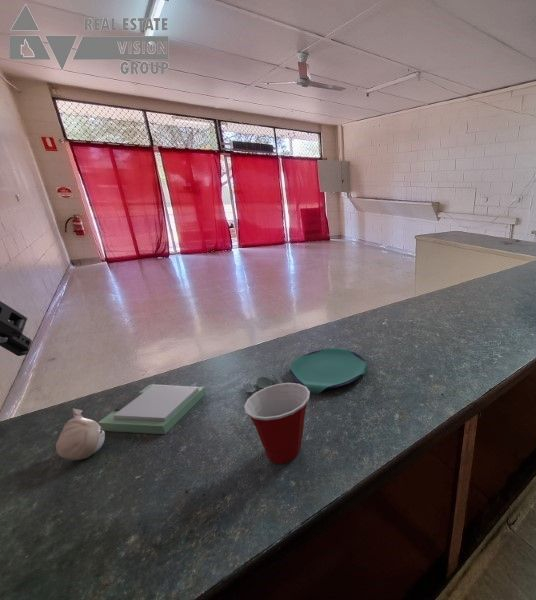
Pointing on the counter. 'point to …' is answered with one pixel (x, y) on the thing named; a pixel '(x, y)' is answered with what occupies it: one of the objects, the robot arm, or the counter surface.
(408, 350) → the counter surface
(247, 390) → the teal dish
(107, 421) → the scale
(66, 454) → the garlic bulb
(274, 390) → the plastic cup
